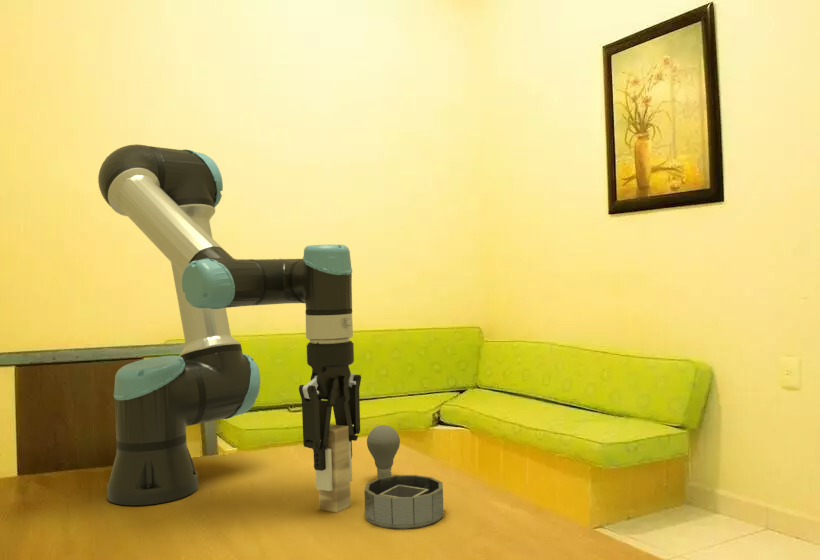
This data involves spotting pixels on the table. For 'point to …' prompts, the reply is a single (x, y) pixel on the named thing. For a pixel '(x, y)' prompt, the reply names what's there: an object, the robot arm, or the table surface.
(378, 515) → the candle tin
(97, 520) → the table surface
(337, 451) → the tan square post
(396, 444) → the light bulb
